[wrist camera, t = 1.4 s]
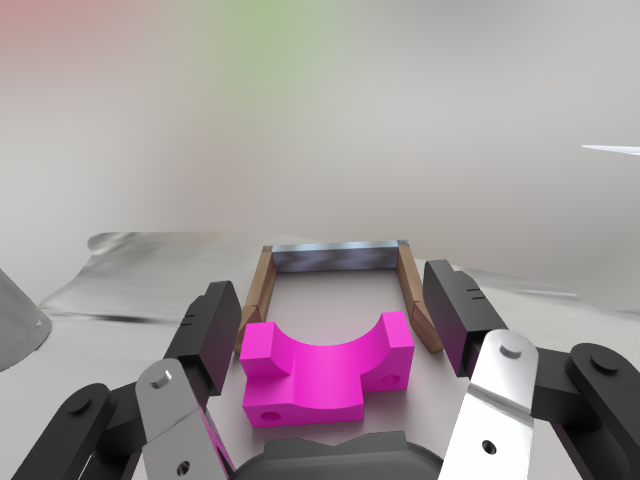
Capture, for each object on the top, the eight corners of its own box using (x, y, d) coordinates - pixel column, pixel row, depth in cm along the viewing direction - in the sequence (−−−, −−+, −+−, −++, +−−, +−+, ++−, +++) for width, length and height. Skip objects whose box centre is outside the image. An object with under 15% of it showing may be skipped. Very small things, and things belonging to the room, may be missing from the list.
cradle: (233, 356, 34) (223, 335, 31) (260, 266, 46) (255, 246, 44) (444, 353, 32) (451, 330, 29) (413, 260, 44) (416, 239, 42)
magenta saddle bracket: (253, 428, 28) (233, 388, 23) (262, 366, 33) (246, 323, 28) (413, 417, 27) (424, 374, 23) (397, 356, 32) (402, 311, 28)
